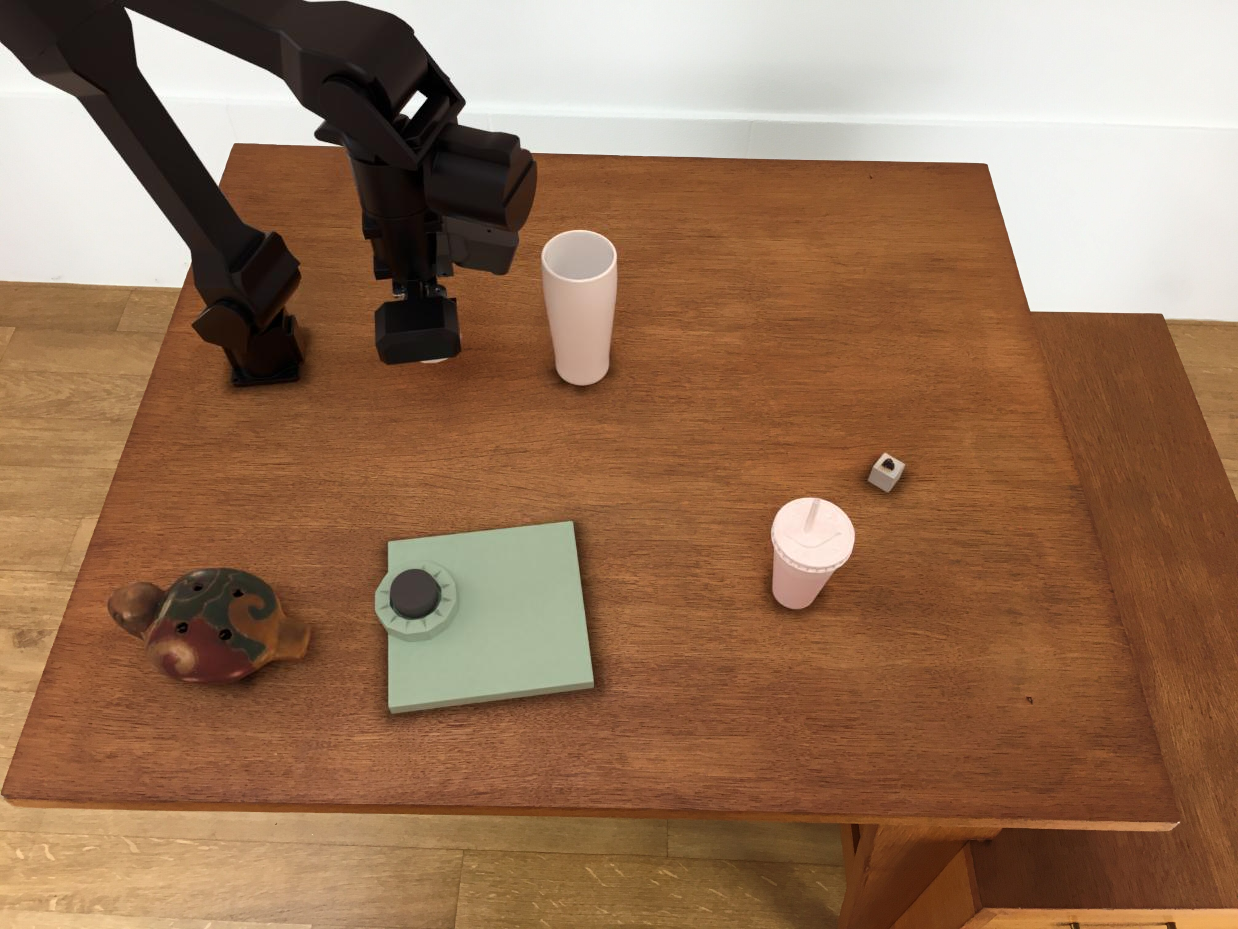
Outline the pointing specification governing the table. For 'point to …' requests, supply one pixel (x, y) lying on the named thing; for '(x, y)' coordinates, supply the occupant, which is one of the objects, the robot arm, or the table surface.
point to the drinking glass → (580, 302)
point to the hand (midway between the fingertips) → (430, 337)
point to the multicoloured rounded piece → (209, 625)
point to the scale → (488, 618)
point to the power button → (414, 593)
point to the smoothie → (808, 549)
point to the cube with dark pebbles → (886, 472)
